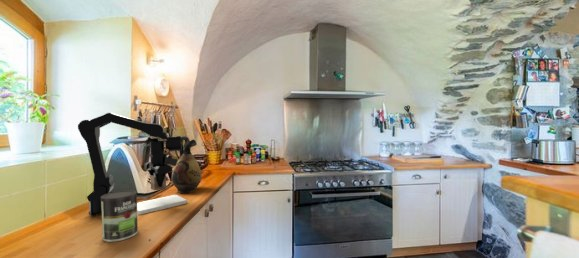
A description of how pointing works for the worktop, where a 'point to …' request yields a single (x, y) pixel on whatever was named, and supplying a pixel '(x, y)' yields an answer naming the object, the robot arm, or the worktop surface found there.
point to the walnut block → (155, 185)
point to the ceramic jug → (186, 169)
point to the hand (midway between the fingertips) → (158, 185)
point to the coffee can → (119, 215)
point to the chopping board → (159, 204)
